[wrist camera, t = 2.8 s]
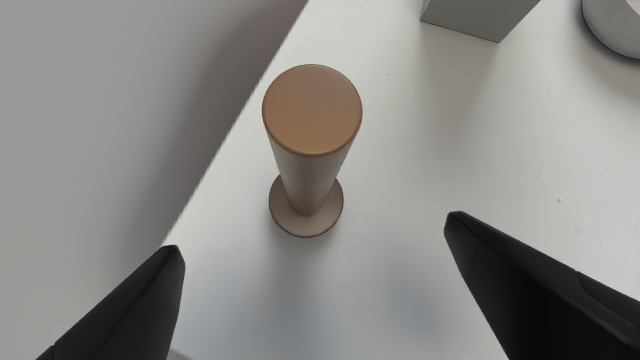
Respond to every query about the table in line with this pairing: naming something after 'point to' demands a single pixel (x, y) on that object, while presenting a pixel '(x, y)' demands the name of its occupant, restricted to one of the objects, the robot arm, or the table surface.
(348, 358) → the table surface
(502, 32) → the perfume bottle
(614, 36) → the small pan
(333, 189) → the wooden peg on base
